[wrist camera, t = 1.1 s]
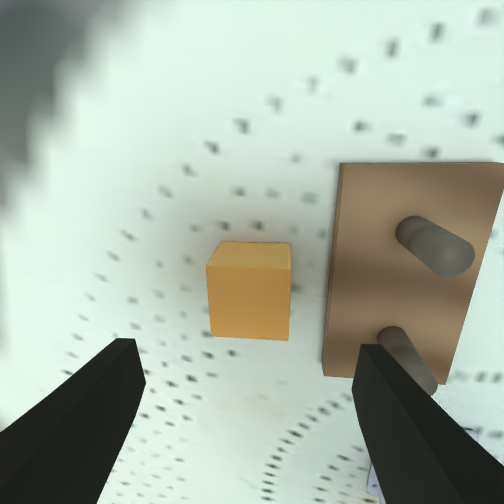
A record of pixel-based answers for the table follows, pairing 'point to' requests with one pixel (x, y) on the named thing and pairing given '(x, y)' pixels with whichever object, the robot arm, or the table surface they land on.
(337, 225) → the wooden peg board
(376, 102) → the table surface
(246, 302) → the wooden toy cube
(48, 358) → the table surface
